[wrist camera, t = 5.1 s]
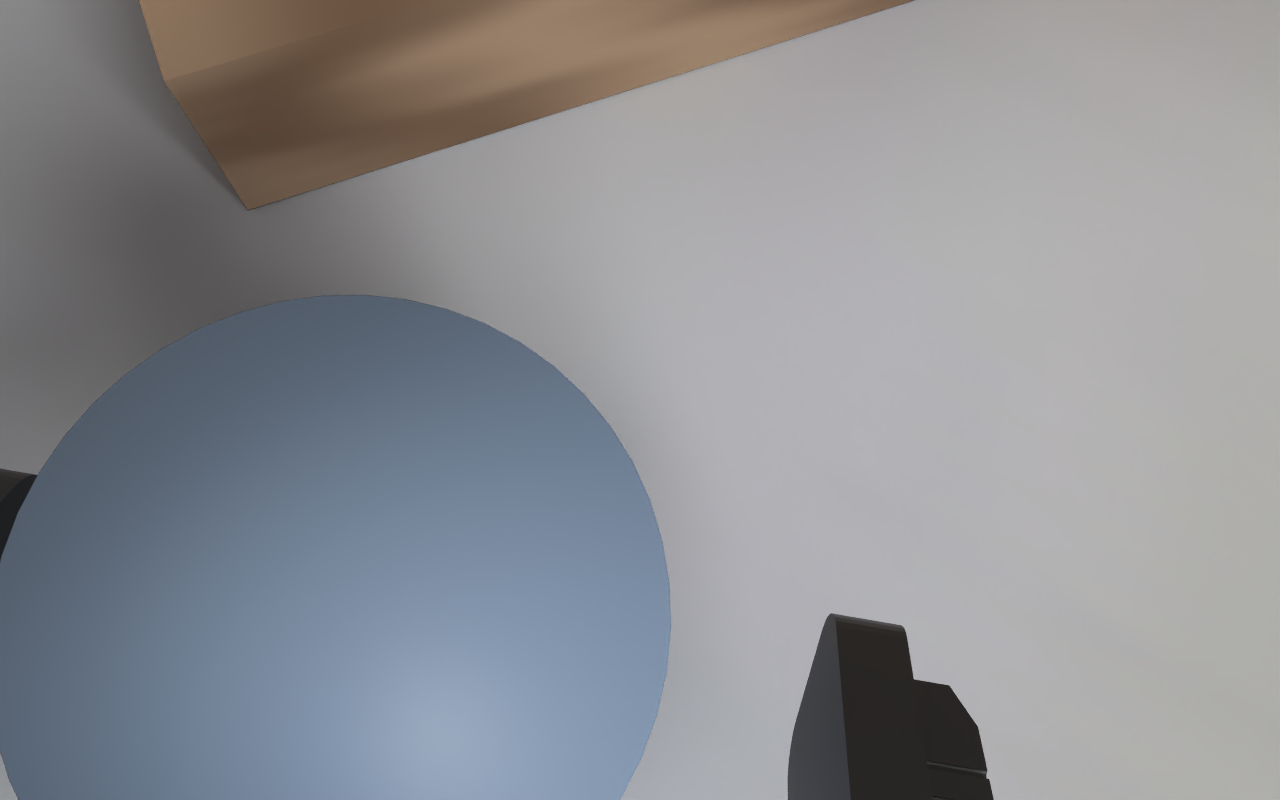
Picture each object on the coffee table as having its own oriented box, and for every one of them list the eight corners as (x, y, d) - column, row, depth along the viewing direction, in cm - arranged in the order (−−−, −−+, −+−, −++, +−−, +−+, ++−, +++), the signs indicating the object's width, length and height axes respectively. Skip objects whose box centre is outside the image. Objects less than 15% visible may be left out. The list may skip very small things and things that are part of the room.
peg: (563, 483, 18) (540, 214, 9) (668, 768, 17) (770, 819, 8) (278, 584, 18) (-81, 417, 8) (369, 886, 17) (82, 1098, 7)
